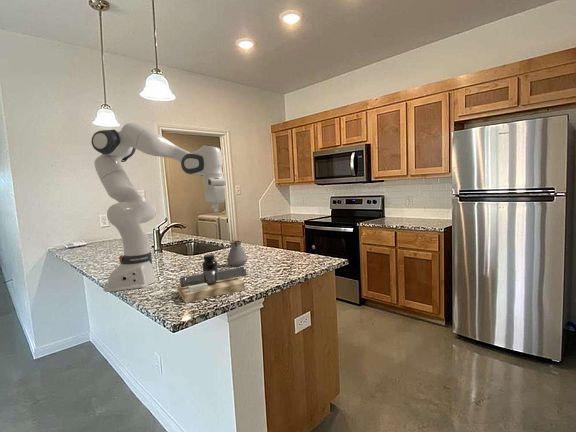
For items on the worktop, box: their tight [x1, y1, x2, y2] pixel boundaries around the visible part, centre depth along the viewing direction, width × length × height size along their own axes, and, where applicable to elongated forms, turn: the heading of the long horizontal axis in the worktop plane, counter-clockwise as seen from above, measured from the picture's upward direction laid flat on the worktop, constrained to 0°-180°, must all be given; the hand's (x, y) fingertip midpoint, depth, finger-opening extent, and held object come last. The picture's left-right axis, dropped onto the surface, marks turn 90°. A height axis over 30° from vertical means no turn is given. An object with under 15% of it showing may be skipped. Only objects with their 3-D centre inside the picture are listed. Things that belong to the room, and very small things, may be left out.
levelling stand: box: [177, 277, 246, 303], centre depth 135 cm, size 24×16×5 cm, turn 118°
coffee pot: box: [226, 240, 249, 267], centre depth 175 cm, size 21×12×15 cm, turn 9°
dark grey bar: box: [179, 266, 247, 287], centre depth 136 cm, size 28×5×5 cm, turn 116°
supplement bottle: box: [201, 254, 219, 273], centre depth 150 cm, size 7×7×12 cm
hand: (215, 211), depth 148 cm, fingers closed
